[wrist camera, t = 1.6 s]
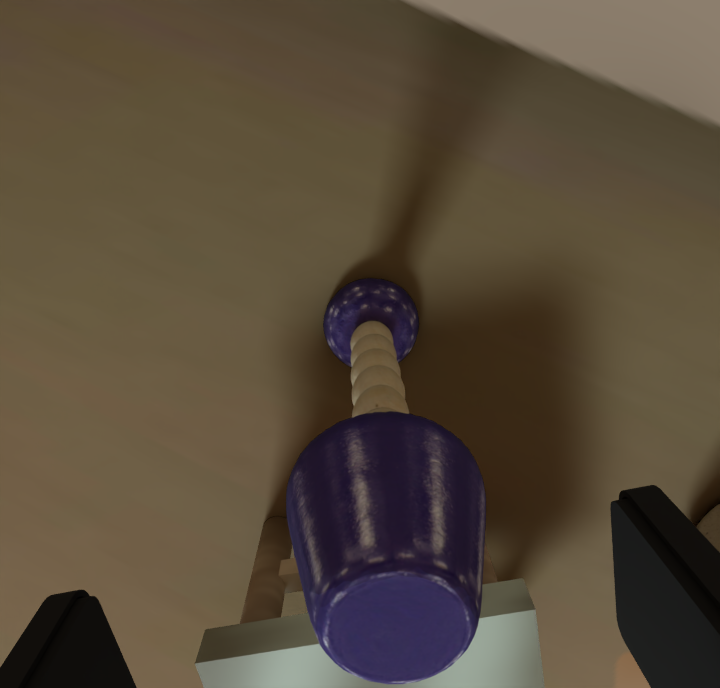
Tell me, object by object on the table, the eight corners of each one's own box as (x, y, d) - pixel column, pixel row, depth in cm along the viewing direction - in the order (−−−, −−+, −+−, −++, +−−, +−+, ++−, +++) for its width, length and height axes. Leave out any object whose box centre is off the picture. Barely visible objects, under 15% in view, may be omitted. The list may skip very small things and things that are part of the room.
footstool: (480, 468, 28) (535, 609, 19) (506, 653, 32) (562, 838, 23) (242, 510, 29) (195, 663, 20) (296, 686, 32) (275, 878, 24)
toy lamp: (439, 353, 26) (571, 670, 10) (348, 396, 27) (340, 756, 11) (392, 260, 25) (463, 461, 9) (298, 308, 25) (204, 575, 9)
